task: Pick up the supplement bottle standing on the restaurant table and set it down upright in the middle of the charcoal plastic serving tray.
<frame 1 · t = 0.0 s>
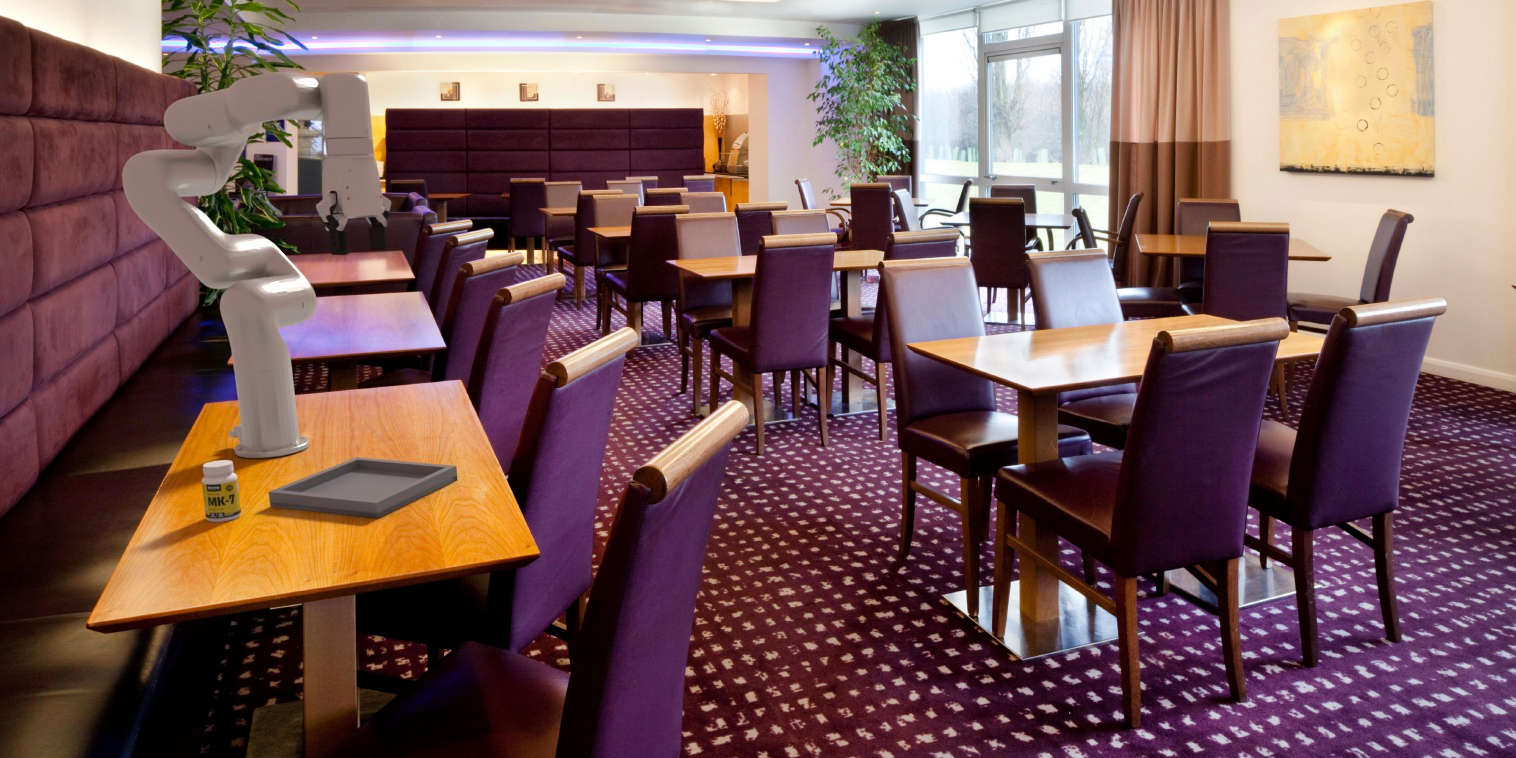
hand: (359, 252, 180), 37 cm above the table, tool pointing down, fingers open, 9 cm apart
supplement bottle: (224, 518, 158), on the table
serving tray: (367, 492, 169), on the table
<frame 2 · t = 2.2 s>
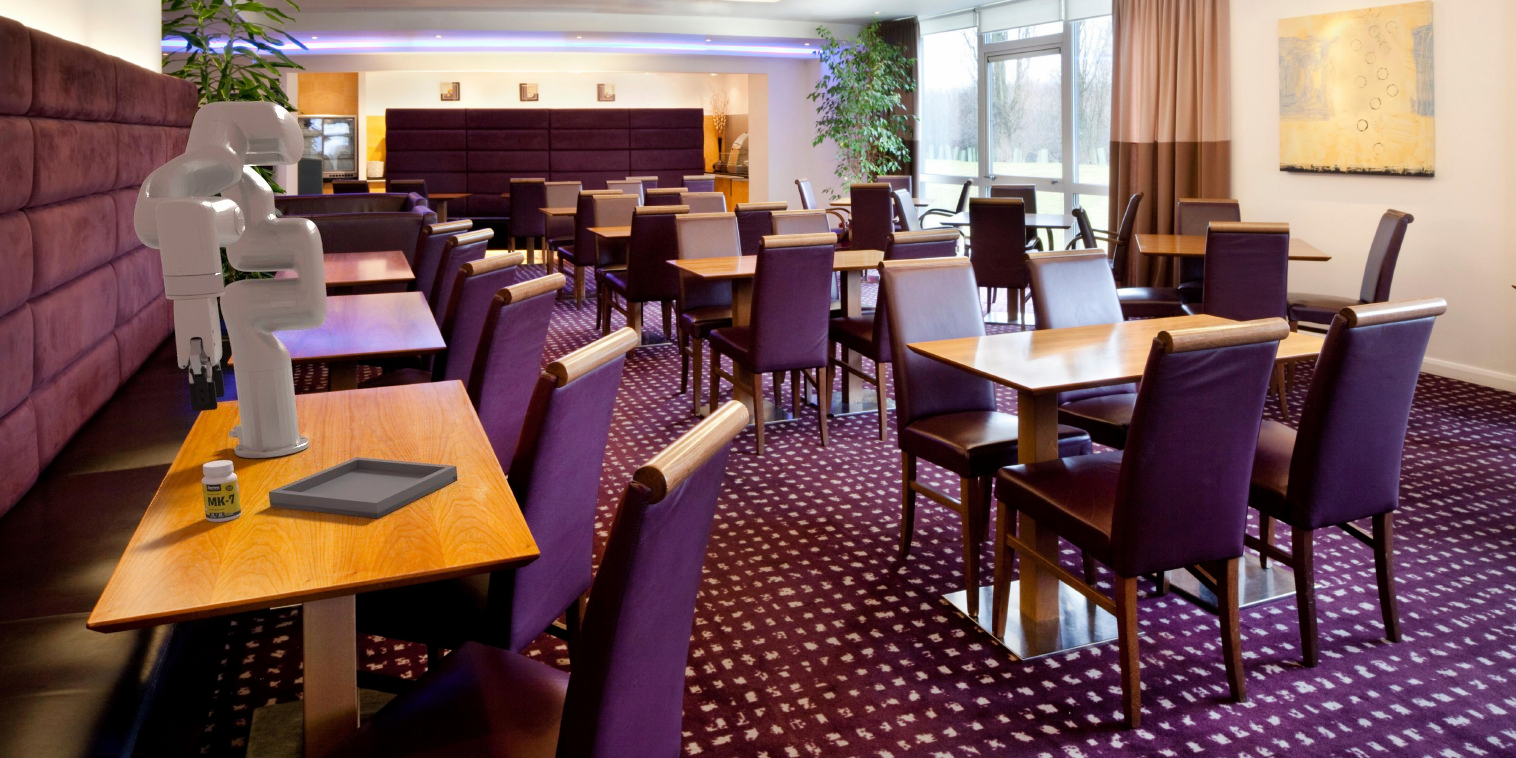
hand: (209, 403, 154), 18 cm above the table, tool pointing down, fingers open, 9 cm apart
nothing on the table moved.
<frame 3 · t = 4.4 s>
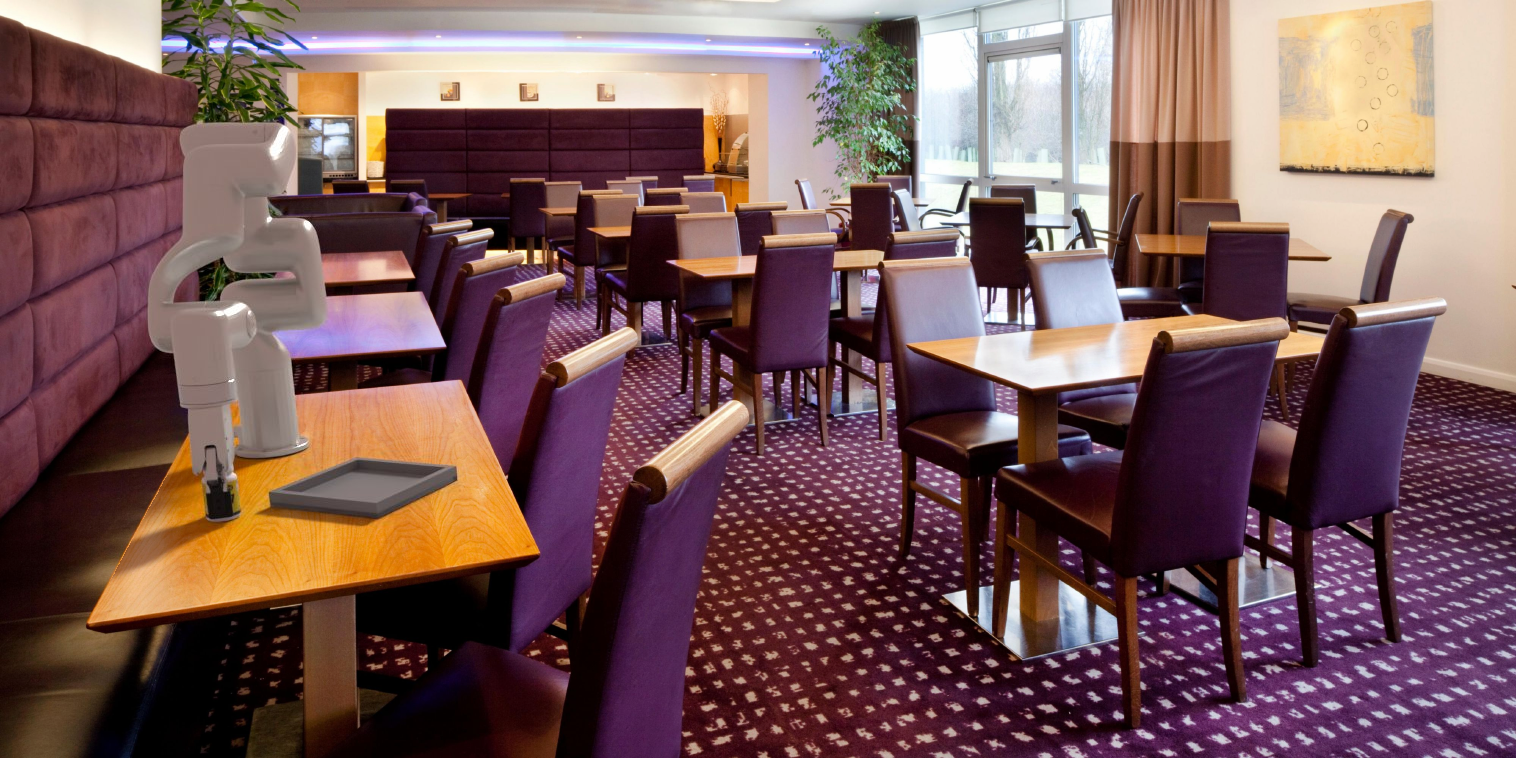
hand: (223, 510, 158), 1 cm above the table, tool pointing down, fingers closed on supplement bottle, 4 cm apart
supplement bottle: (224, 518, 158), on the table, touching gripper
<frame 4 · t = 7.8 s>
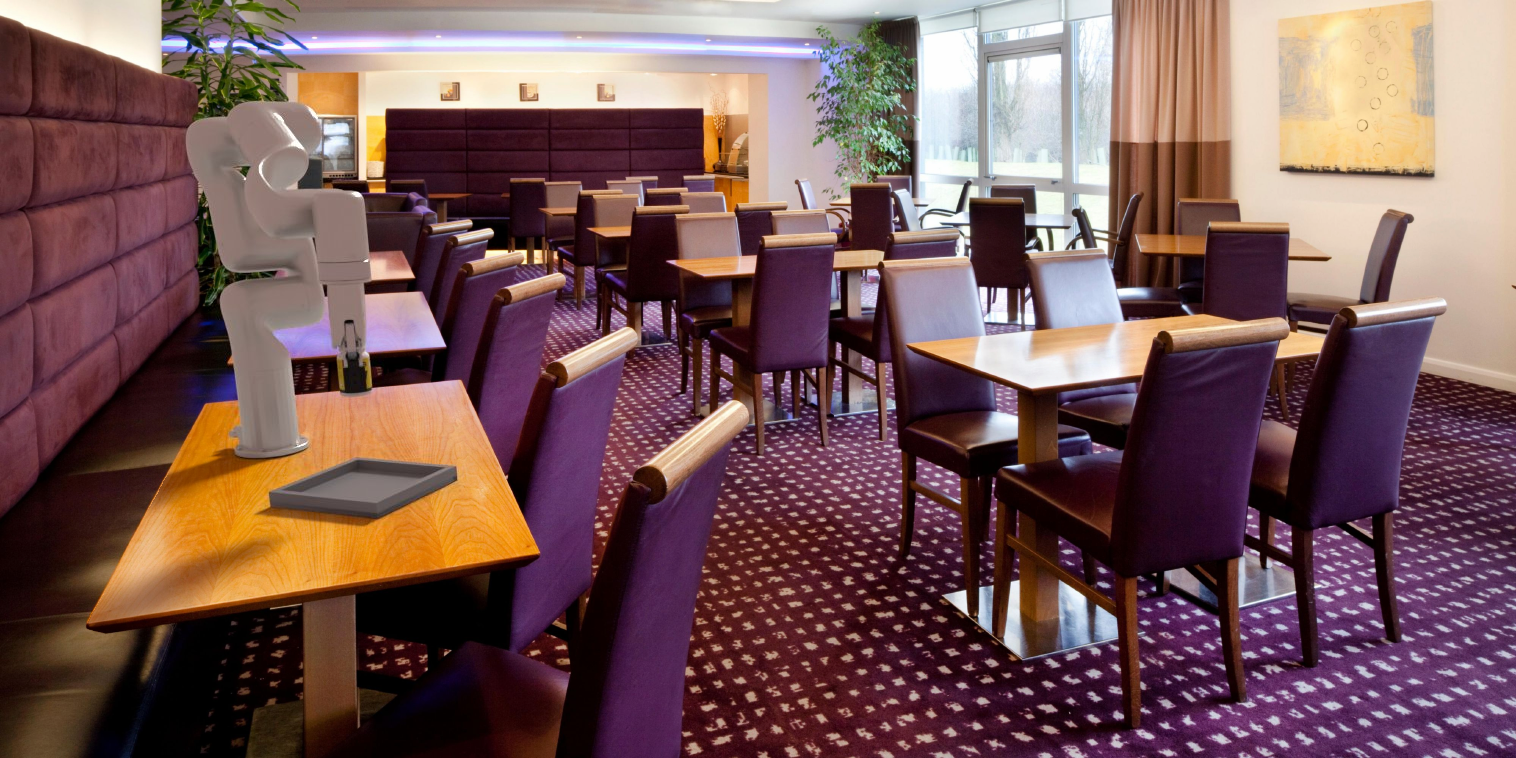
hand: (355, 387, 165), 17 cm above the table, tool pointing down, fingers closed on supplement bottle, 4 cm apart
supplement bottle: (356, 395, 165), point 16 cm above the table, touching gripper
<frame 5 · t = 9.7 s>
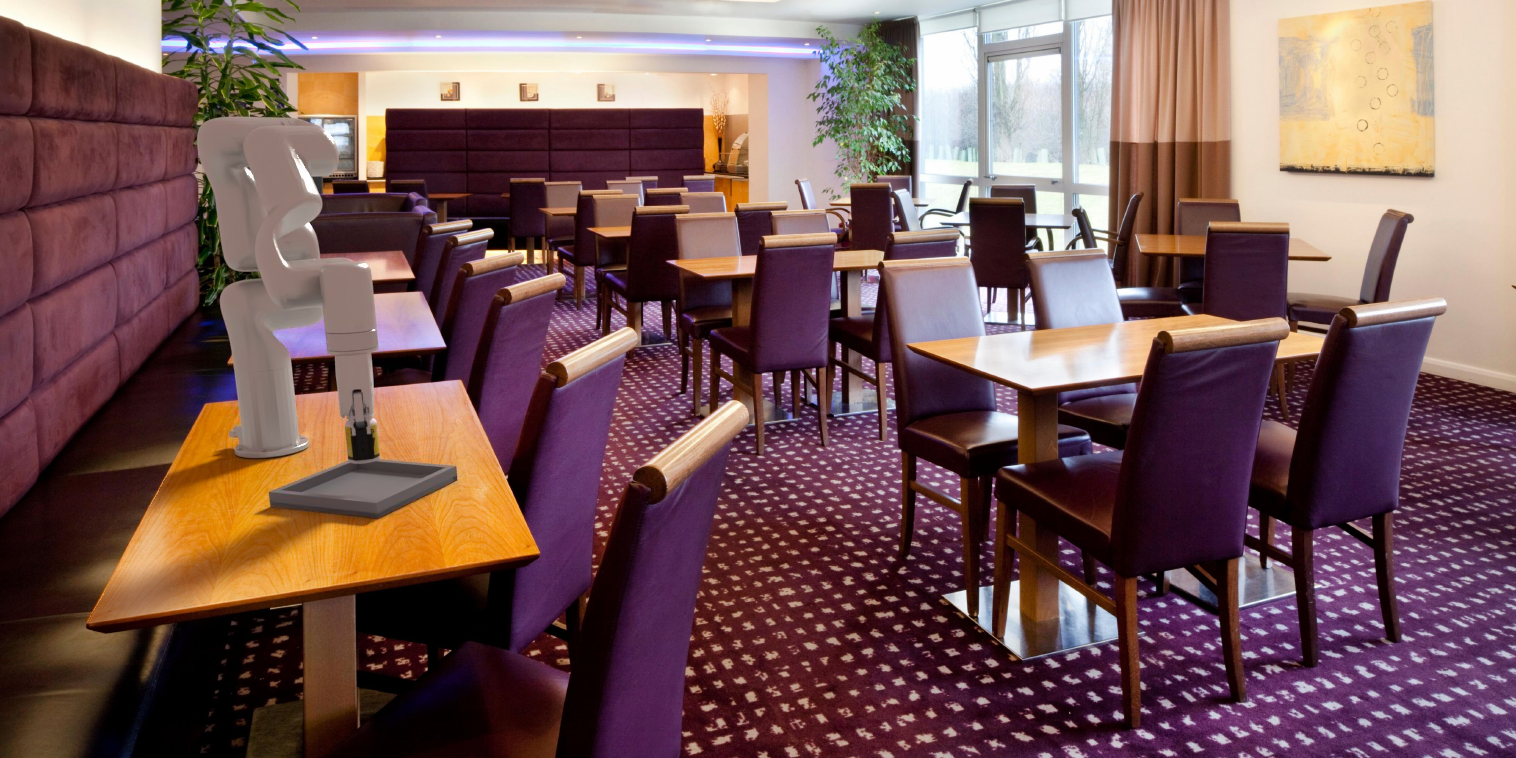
hand: (363, 454, 167), 6 cm above the table, tool pointing down, fingers closed on supplement bottle, 4 cm apart
supplement bottle: (364, 461, 167), point 5 cm above the table, touching gripper
when the fingers open (3 cm above the table, at t = 11.2 s): supplement bottle drops 1 cm, resting on serving tray.
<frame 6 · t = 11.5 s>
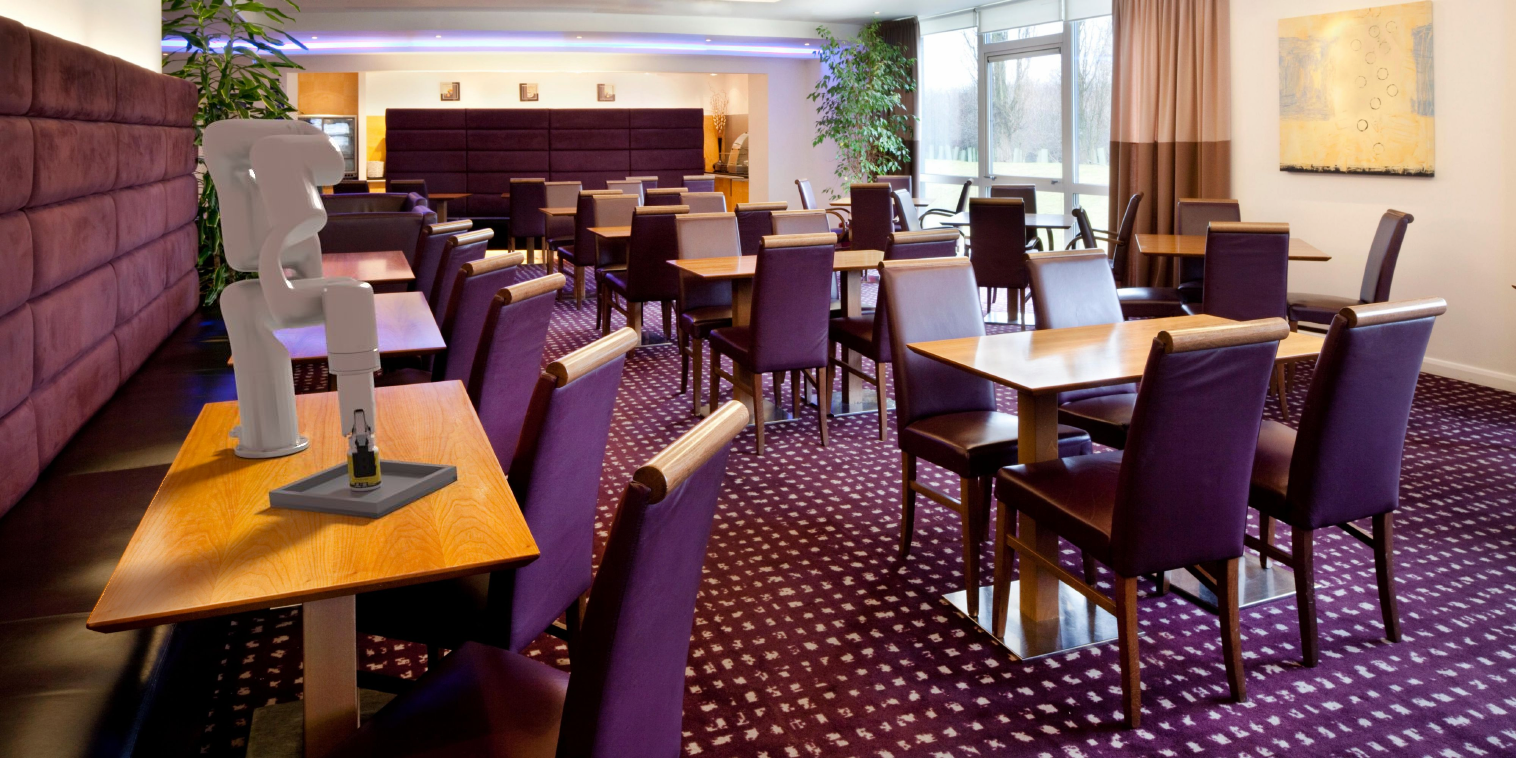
hand: (364, 468, 168), 4 cm above the table, tool pointing down, fingers open, 8 cm apart
supplement bottle: (366, 488, 169), point 1 cm above the table, touching serving tray
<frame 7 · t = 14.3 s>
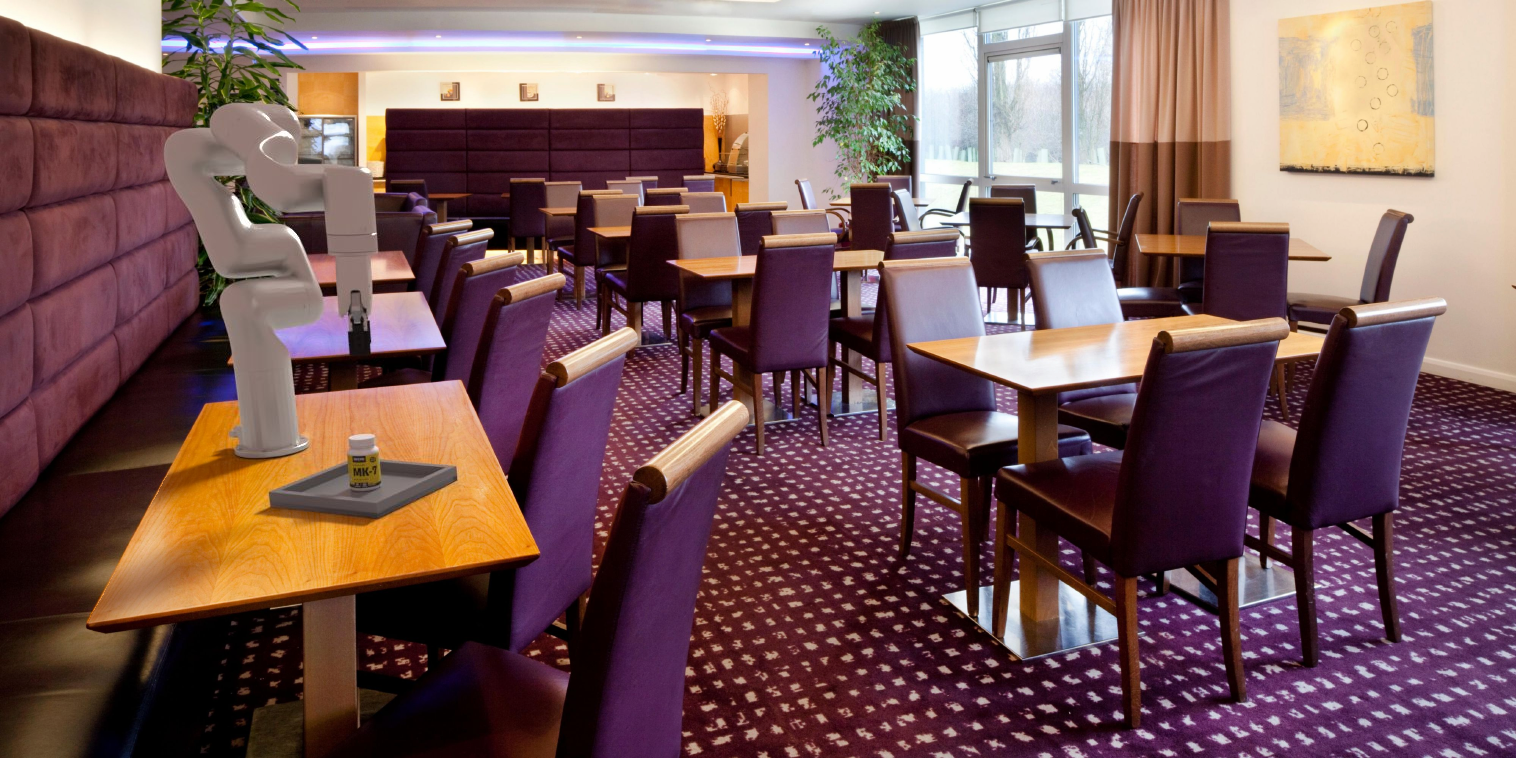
hand: (360, 349, 173), 22 cm above the table, tool pointing down, fingers open, 9 cm apart
nothing on the table moved.
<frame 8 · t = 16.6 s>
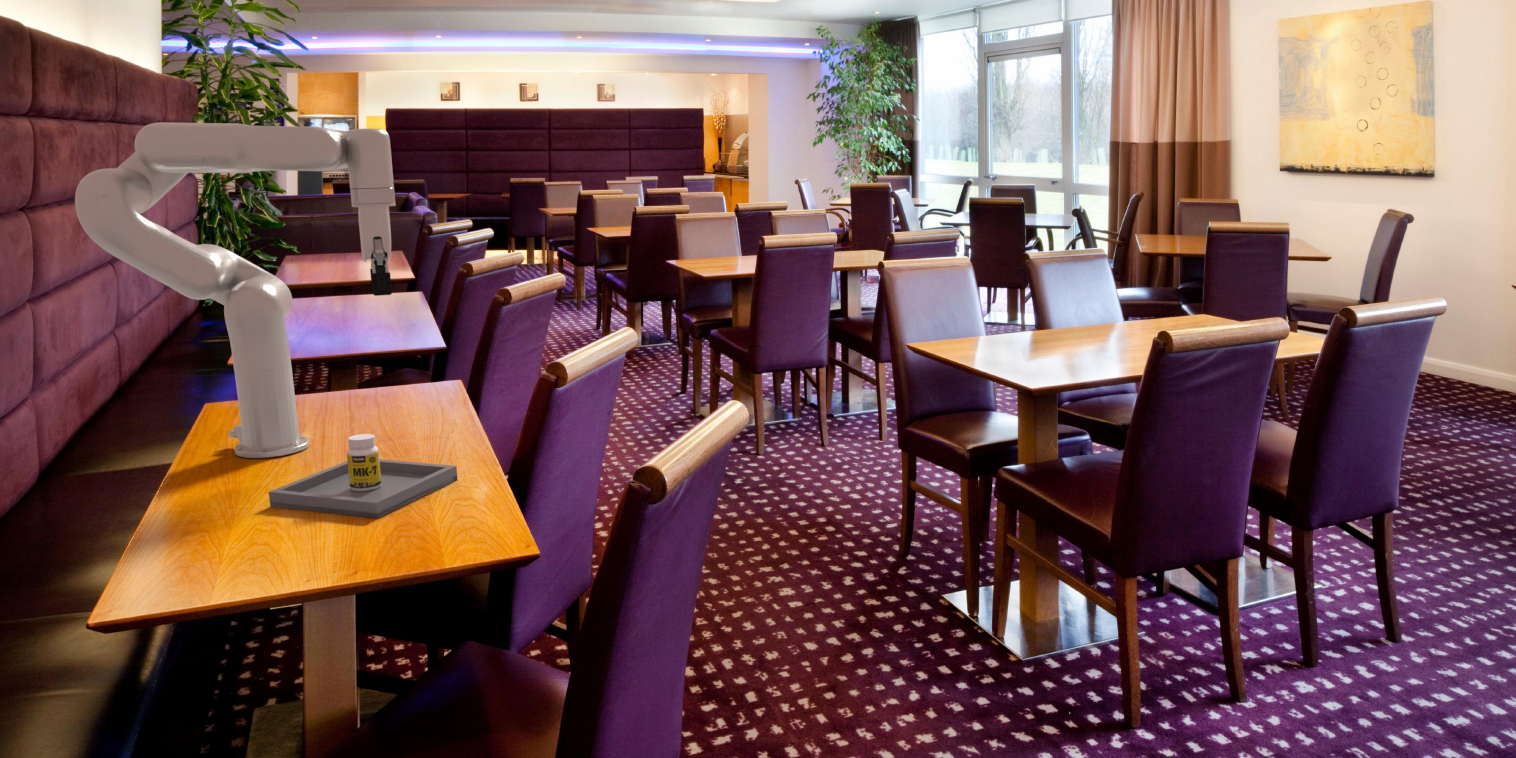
hand: (381, 292, 195), 28 cm above the table, tool pointing down, fingers open, 9 cm apart
nothing on the table moved.
at the end: supplement bottle inside the target area on the serving tray (0.2 cm from its centre), point 0.6 cm above the serving tray's base; supplement bottle tilted 0°; the gripper is holding nothing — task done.
